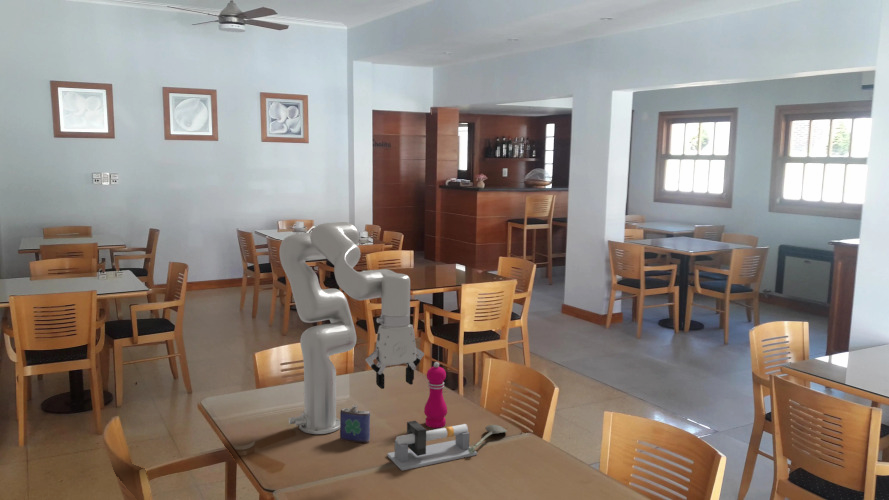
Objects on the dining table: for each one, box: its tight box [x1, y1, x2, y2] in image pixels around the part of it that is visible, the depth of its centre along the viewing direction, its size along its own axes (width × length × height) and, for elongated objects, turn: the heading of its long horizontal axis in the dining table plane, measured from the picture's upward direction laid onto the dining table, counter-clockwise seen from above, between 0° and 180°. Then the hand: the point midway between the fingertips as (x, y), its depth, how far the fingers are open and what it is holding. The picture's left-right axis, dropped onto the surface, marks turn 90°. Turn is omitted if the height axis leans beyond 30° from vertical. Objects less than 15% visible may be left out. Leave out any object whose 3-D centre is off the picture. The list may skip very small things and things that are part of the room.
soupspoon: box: [468, 424, 508, 453], centre depth 197 cm, size 22×3×7 cm
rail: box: [386, 423, 478, 471], centre depth 187 cm, size 23×10×7 cm, turn 117°
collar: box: [406, 420, 427, 456], centre depth 185 cm, size 2×7×7 cm, turn 27°
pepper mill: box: [423, 361, 448, 429], centre depth 209 cm, size 7×7×20 cm
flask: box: [339, 404, 371, 444], centre depth 197 cm, size 9×3×11 cm, turn 74°
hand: (395, 384), depth 180 cm, fingers open, 7 cm apart
